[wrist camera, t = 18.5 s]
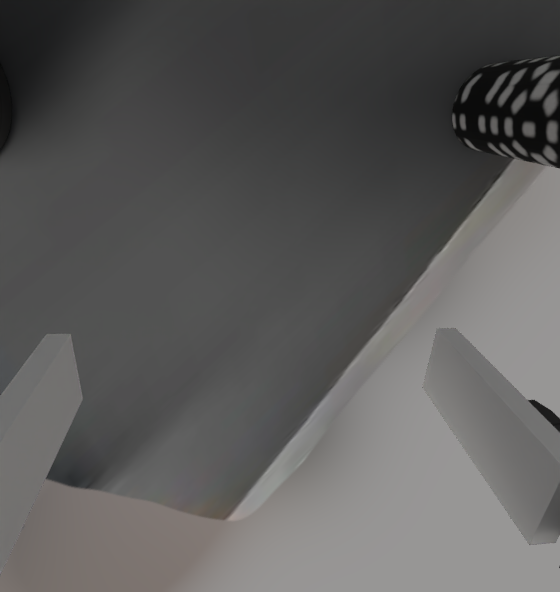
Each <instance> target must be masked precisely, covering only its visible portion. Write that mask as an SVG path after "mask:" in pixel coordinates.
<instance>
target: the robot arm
mask: <svg viewBox="0 0 560 592" xmlns="http://www.w3.org/2000/svg"><path fill="white" fill-rule="evenodd" d="M11 118H12V104H11V96H10V90H9V86H8V83H7V80H6V77H5V74H4V71H3V69H2V67H1V65H0V149H1V148H2V146H3V145H4V143H5V141H6V138H7V136H8V133H9V129H10V125H11ZM423 389H424V391H425V392H426V393H427V395H428V396H429V398H430V399H431V401H432V402H433V404H434V405H435V407H436V408H437V409H438V411H439V413H440V414H441V415H442V417H443V419H444V420H445V421H446V423H447V424H448V426H449V427H450V429H451V430H452V432H453V433H454V435H455V436H456V438H457V439H458V441H459V442H460V444H461V445H462V447H463V448H464V449H465V451H466V452H467V454H468V455H469V456H470V458H471V460H472V461H473V463H474V464H475V465H476V467H477V469H478V470H479V471H480V473H481V474H482V476H483V477H484V479H485V480H486V482H487V483H488V485H489V486H490V488H491V489H492V491H493V492H494V494H495V495H496V496H497V498H498V500H499V501H500V503H501V504H502V505H503V507H504V508H505V510H506V511H507V513H508V514H509V515H510V517H511V519H512V520H513V522H514V523H515V525H516V526H517V528H518V529H519V531H520V532H521V534H522V535H523V536H524V538H525V539H526V541H527V542H528V544H529V545H536V544H546V543H556V541H557V539H558V537H559V535H560V419H559V418H558V417H557V416H556V415H555V414H554V413H553V412H552V411H551V410H549V409H548V408H546V407H545V406H543V405H541V404H540V403H538V402H537V401H535V400H527V399H526V398H525V397H524V396H523V395H522V394H521V393H520V392H519V391H518V390H517V389H516V388H515V387H514V386H513V385H512V384H511V383H510V382H509V381H508V380H507V379H506V378H505V377H504V376H503V375H502V374H501V373H500V372H499V371H498V370H497V369H496V368H495V367H494V366H493V365H492V364H491V363H490V362H489V361H488V360H487V359H486V358H485V357H484V356H483V355H482V354H481V353H480V352H479V351H478V350H477V349H476V348H475V347H474V346H473V345H472V344H471V343H470V342H469V341H468V340H467V339H466V338H465V337H464V336H463V335H462V334H461V333H460V332H459V331H458V330H457V329H456V328H450V329H449V328H447V329H446V328H444V329H443V328H442V329H437V331H436V334H435V339H434V343H433V347H432V351H431V355H430V359H429V363H428V367H427V371H426V375H425V379H424V383H423ZM82 400H83V397H82V392H81V387H80V382H79V376H78V371H77V366H76V360H75V355H74V350H73V344H72V339H71V334H46V335H45V337H44V338H43V339H42V341H41V342H40V343H39V345H38V346H37V347H36V349H35V350H34V351H33V353H32V354H31V355H30V357H29V358H28V359H27V361H26V362H25V363H24V365H23V366H22V367H21V369H20V370H19V371H18V373H17V374H16V376H15V377H14V378H13V380H12V381H11V382H10V384H9V385H8V386H7V388H6V389H5V390H4V392H3V393H2V394H1V396H0V575H1V573H2V570H3V568H4V566H5V564H6V562H7V560H8V558H9V555H10V553H11V551H12V549H13V547H14V545H15V542H16V540H17V538H18V536H19V534H20V532H21V530H22V528H23V526H24V523H25V521H26V519H27V517H28V515H29V513H30V511H31V508H32V506H33V504H34V502H35V500H36V498H37V495H38V494H39V491H40V489H41V487H42V485H43V483H44V481H45V479H46V476H47V474H48V472H49V470H50V468H51V466H52V464H53V461H54V459H55V457H56V455H57V453H58V451H59V449H60V447H61V444H62V442H63V440H64V438H65V436H66V434H67V432H68V429H69V427H70V425H71V423H72V421H73V419H74V417H75V414H76V412H77V410H78V408H79V406H80V404H81V402H82ZM559 568H560V567H559Z"/></svg>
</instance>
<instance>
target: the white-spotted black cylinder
mask: <svg viewBox="0 0 560 592" xmlns="http://www.w3.org/2000/svg"><path fill="white" fill-rule="evenodd" d="M452 122H453V128H454V131H455V133H456V136H457V137H458V139H459V140H460V141H461V142H462V143H463V144H464V145H465V146H466V147H468V148H470V149H473V150H477V151H482V152H487V153H491V154H496V155H500V156H505V157H510V158H514V159H519V160H524V161H528V162H533V163H537V164H542V165H547V166H551V167H556V168H560V55H558V56H550V57H542V58H533V59H525V60H517V61H508V62H500V63H494V64H489V65H487V66H484V67H482V68H480V69H479V70H477V71H476V72H474V73H473V74H472V75H471V76H470V77H469V78H468V79H467V80H466V81H465V83H464V84H463V85H462V87H461V88H460V90H459V92H458V94H457V96H456V99H455V102H454V106H453V112H452Z"/></svg>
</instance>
